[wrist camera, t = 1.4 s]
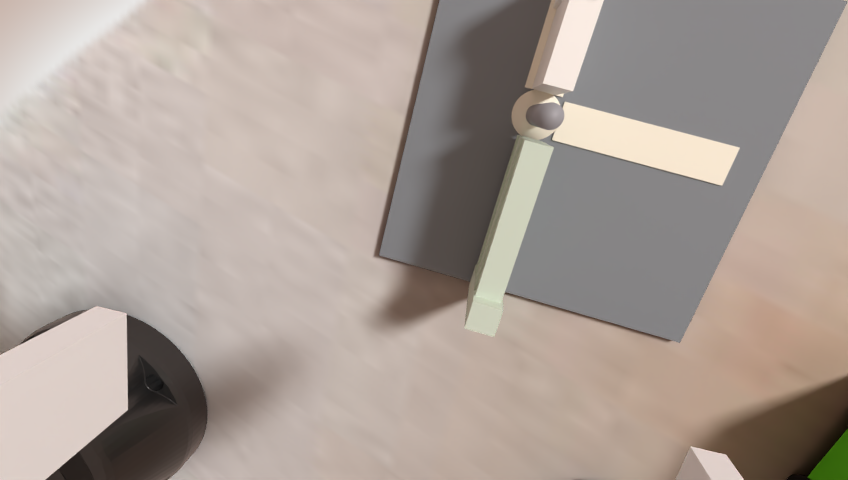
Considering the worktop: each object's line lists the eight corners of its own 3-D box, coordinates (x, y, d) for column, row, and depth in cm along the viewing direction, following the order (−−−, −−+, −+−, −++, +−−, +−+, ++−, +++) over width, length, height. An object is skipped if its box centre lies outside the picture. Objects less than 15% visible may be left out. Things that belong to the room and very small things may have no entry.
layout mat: (380, 253, 30) (378, 255, 29) (461, -88, 24) (461, -93, 23) (676, 338, 29) (680, 343, 28) (840, 3, 23) (848, 1, 22)
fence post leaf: (517, 121, 26) (526, 124, 20) (562, -26, 24) (589, -74, 18) (546, 129, 26) (565, 134, 20) (595, -18, 24) (633, -63, 18)
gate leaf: (516, 134, 26) (524, 140, 20) (543, 141, 26) (558, 149, 20) (468, 286, 29) (464, 328, 23) (492, 293, 29) (494, 337, 23)
